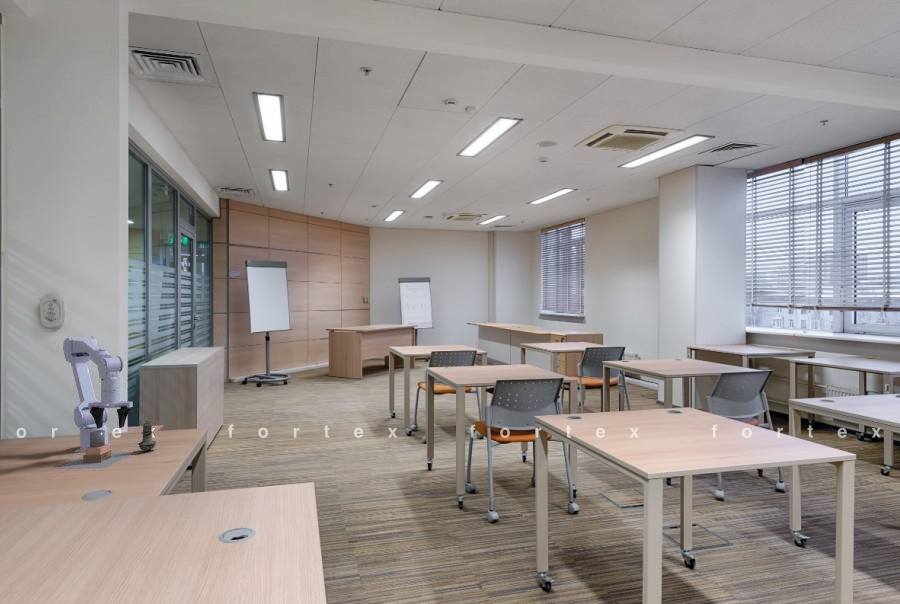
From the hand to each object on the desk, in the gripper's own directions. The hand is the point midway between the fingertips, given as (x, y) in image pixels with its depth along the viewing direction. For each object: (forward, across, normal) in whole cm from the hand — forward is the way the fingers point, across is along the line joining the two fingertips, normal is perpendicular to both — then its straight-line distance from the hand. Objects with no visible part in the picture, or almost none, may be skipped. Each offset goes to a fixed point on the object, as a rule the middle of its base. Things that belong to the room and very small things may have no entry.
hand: (110, 427), depth 189 cm
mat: (+10, -1, -6) cm, 12 cm away
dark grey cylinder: (+5, -1, -6) cm, 8 cm away
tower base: (+10, -1, -6) cm, 12 cm away
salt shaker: (+11, +11, +4) cm, 16 cm away
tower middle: (+8, -1, -6) cm, 10 cm away
